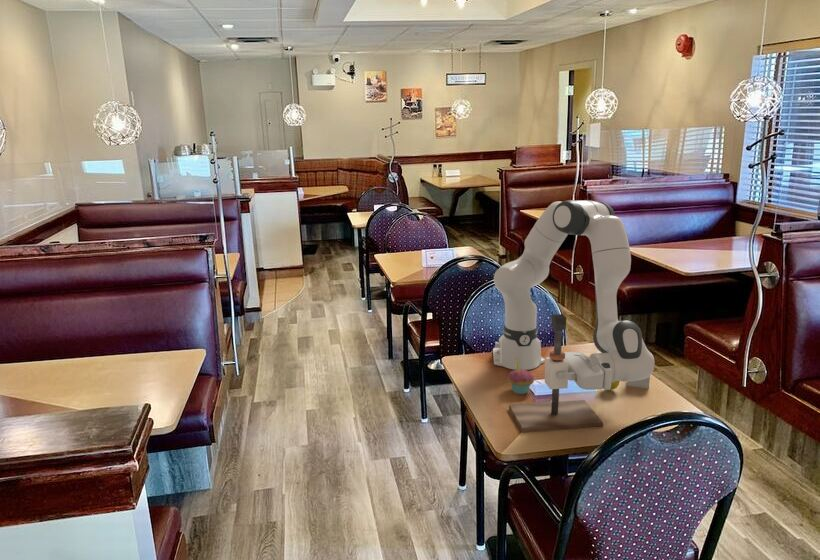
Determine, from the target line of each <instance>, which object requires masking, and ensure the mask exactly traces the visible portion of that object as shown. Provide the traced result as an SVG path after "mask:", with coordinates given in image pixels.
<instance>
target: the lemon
mask: <svg viewBox="0 0 820 560" xmlns="http://www.w3.org/2000/svg"><path fill="white" fill-rule="evenodd" d="M620 383H621V381H615V382H612V383H611V389H610V390H608V391H610V392H611V391H613V390H615V389H617V388H618V386H619V385H620Z"/></svg>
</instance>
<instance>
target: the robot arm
mask: <svg viewBox="0 0 820 560" xmlns="http://www.w3.org/2000/svg"><path fill="white" fill-rule="evenodd" d="M615 214H616V213H615V211H614V208H612V207H611V206H610V205H609V204H608V203H605V202H602V201H595V200H590V199H584V200H581V199H580V200H579V199H578V200H577V199H576V200H574V199H567V200H564V201H560V200H559V201H553V202H552V203H551V204H549V205H548V206H547V208H546V209H545V210H544V211H543V212H542V213H541V214H540V216H539V217H538V219H536V222H535V223H534V225H533V227H532V228H531V229H530V231H529V233H528V235H527V236H526V238H525V240H524V248H523V249H524V250H523V253H522V254H521V255H520V256H519V257H518V258H517V259H515V260H511V261H508V262H506V263H504V264H503V265H501V266H500V267H498V269H496V270H495V272H494V275H493V283H494V286H495V288H496V289H497V291H499V292H500V293H501V295H502V298H503V302H504V311H505V312H504V314H505V315H504V322H505V323H504V325H503V328H502V329H503V330H502V334H501V336H500V337H499V338H498V341H494V347H493V348H492V356H493V365H495V366H499V367H503V368H506V369H510V370H516V369H517V366H516V358H517V360H518V366H519V369H523V370H527V371H529V370H533V369H534V370H535V369H536V368H538V367H539V366H540V365H542V364H544V363H545V362H546V358H544V357H543V356H542V348H541V347H542V343H541V340H540V339H539V338H538V332H539V331H538V326H537V316H538V315H537V312H538V309H537V308H538V307H537V305H536V303H535V302H534V301H533V300H532V297H531V288H533V287H536V286H540V285H541V283H543V282H544V281H545V280H546V279H547V278H548V277H549V275H550V265H551V263H552V260H553V258H554V256H555V255H556V254H557V252H558V250H559V248H560V247H561V246H562V244H563V243H564V242H565V240H566V238H567V237H568V235H572V236H586V237H587V238H588V239H589V242H590V246H591V247H590V248H591V256H592V264H593V271H594V293H595V294H594V295H595V296H594V297H595V311H596V313H595V314H596V324H595V328H594V332H593V336H592V337H593V339H592V340H593V344H594V346H595V348H596V349H597V350H598V351H599V352H598V353H597V352H595V353H591V354H589V356H588V355H585V354H584V353H582V352H578V351H563V352H564V353H565V359H566V360H567V361H568V363H569V367H568V373H567V372H563V371H560V372H559V371H558V372H557V375H556V376H557V378H558V379H566V380H568V381H574V382H575V384H576V385H577V386H578V387H579V388H580V389H582V390H586V391H587V390H604V391H609V390H610V389H611V383H612V382H615V381H620V382H624V383H625V382H627V383H628V381H638V380H643V379H646V378H648V377H649V376H650V377H651V375H653V372H654V370H655V365H656V364H655V363H656V362H655V358H654V355H653V354H652V352H651V351H650V350H649V349H648V348H647V346H646V343H645V342H644V339H643V334H642V330H641V328H640V326H638V325H637V323H635V322H634V321H631V320H627V319H626V320H619V318H618V317H619V316H618V304H617V295H618V290H619V287H620V285H621V284H622V282H623V281H624V280H625V279H626V278H627V276H628V275H629V274H630V271H631V265H632V255H631V249H630V248H631V247H630V244H629V239H628V235H627V231H626V228H625V224H624V222H623V220H622V219H621V218H620V217H618V216H616V215H615Z"/></svg>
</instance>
